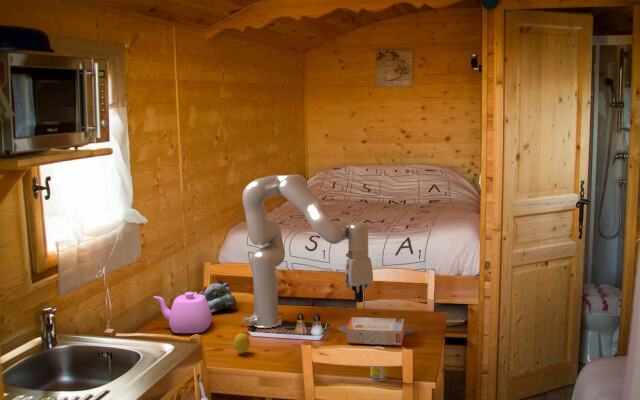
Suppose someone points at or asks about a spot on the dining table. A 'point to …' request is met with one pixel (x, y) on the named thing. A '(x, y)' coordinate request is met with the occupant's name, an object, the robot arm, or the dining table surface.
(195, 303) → the teapot
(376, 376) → the supplement bottle
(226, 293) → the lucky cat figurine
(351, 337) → the cracker box
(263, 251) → the robot arm
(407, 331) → the slate mat
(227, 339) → the dining table surface
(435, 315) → the dining table surface
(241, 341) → the lemon
